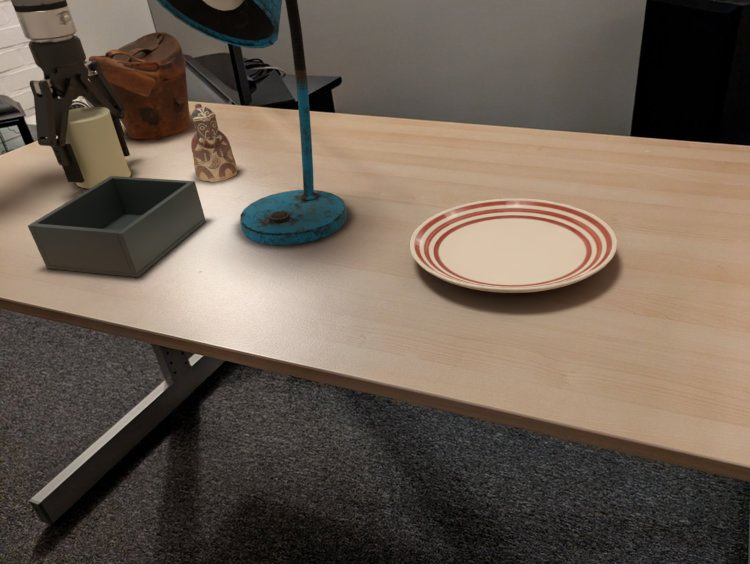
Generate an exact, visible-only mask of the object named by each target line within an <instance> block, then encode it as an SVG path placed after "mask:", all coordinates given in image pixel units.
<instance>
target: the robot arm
mask: <svg viewBox="0 0 750 564" xmlns="http://www.w3.org/2000/svg"><path fill="white" fill-rule="evenodd" d="M10 2H11V4H12V7H13V9H14V12H15V14H16V17H17V20H18V23H19V24H20V28H21V30H22V34H23V35H24V36H23V37H24V38H25V39H27V40H29V43H28V48H29V50H30V54H31V56H32V58H33V61H34V63H35V65H36V66H37V67H38V68H39V69H40V70H41V71H42V73H43V79H39V80H30V81H29V86H30V90H31V93H32V96H33V103H34V104H33V105H34V115H35V126H36V137H37V144H38V145H39V146H42V147H50V148H51V149H52V151H53V155H54V156H55V159H56V161H57V163H58V165H59V166H61V167H62V170H63V173H64V176H65V177H66V180H67V182H68V183H75V184H76V183H82V182H84V181H85V180H84V178H83V175H82V173H81V170H80V168H79V165H78V162H77V160H76V157H75V155H74V152H73V149H72V147H71V144H65V143H66V134H67V125H68V116H69V107H70V106H71V105H72V103H73V100H75V99H77V98H78V97H79V96H83V97H84V98H85V100H86V101H87V102H88V103H90V104H91V105H92V107H104V108H107V109H109V110H110V114H111V118H112V121H113V124H114V127H115V130H116V133H117V136H118V139H119V142H120V145H121V148H122V151H123V154H124V157H130V156H131V153H130V150H129V148H128V145H127V141H126V138H125V131H124V128H123V124H122V122H121V120H120V119H123V118H124V113H123V112H125V106H124V105H123V103H122V102H121V100H120V99H119V97H118V96H117V94H116V93H115V91H114V90H113V88H112V87H111V85H110V84H109V82H108V81H107V79H106V78H105V76H104V75H103V73H102V70H101V67H100V65H99V63H98V62H97V61H89V60H88V61H86V60H87V56H86V55H87V54H86V52H85V50H84V47H83V43H82V41H81V38H80V37H79V36H77V35H75V34H76V33H77V31H78V30H77V28H76V25H75V22H74V19H73V16H72V13H71V10H70V7H69V4H68V2H67V0H10ZM114 104H115V105H114Z"/></svg>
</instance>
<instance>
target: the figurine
mask: <svg viewBox="0 0 750 564" xmlns="http://www.w3.org/2000/svg"><path fill="white" fill-rule="evenodd" d="M191 121H192V123H193V126H194V128H195V131H196V132H195V133H194V134H193V136H192V139H191V144H190V148H191V152H192V159H193V166H194V172H195V175H196V178H197V179H198V180H199V181H203V182H210V183H216V182H222V181H226V180H229V179H231V178H233V177H235V176H236V175H238V166H237V163H236V159H235V156H234V153H233V150H232V147H231V143H230V140H229V139H228V137H227V136H226V134H224V132H222V131H221V130H219V126H218V125H219V124H218V121H217V115H216V113H215V112H213V111H212V109H211V108H209V107H206V106H202V104H201V103H195V105H194V110H193V111H192V113H191Z"/></svg>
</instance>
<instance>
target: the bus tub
mask: <svg viewBox="0 0 750 564" xmlns="http://www.w3.org/2000/svg"><path fill="white" fill-rule="evenodd" d="M206 220H207V219H206V217H205V213H204V210H203V206H202V202H201V198H200V196H199V191H198V187H197V184H196V181H195V180H183V179H167V178H166V179H165V178H153V177H152V178H150V177H137V176H136V177H134V176H130V177H120V176H110V177H108V178H107V179H105V180H103V181H102V182H100V183H98V184H97V185H95V186H93V187H92V188H90V189H88V188H87V190H85V191H83V192H81V193H80V194H78V195H77V196H75V197H73V198H72V199H70V200H68V201H67V202H65V203H63V204H61V205H60V206H58V207H56V208H55V209H53V210H52V211H49V212H48V213H46V214H44V215H43V216H41V217H40V218H38V219H36V220H34V221H33V222H31V223H30V224H28V225H27V228H28V230H29V232H30V235H31V236H32V239H33V241H34V243H35V245H36V247H37V250H38V252H39V254H40V257H41V258H42V261H43V263H44V265H45V268H46V269H49V270H58V271H68V272H69V271H70V272H77V273H78V272H79V273H89V274H101V275H109V276H120V277H127V278H129V277H131V278H140V277H141V276H142V275H143V274H144V273H146V272H147V271H149V269H150V268H151V267H152V266H154V265H155V264H156V263H158V262H159V261H160V260H161V259H162V258H164V257H165V256H166V255H167V254H168V253H170V252H171V251H172V250H173V249H174V248H175V247H177V246H178V245H179V244H181V243H182V242H183V241H184V240H185V239H186V238H188V237H189V236H190V235H191V234H192V233H194V232H195V231H196V230H197V229H198V228H200V227H201V226H203V224H204V223H206Z"/></svg>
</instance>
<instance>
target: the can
mask: <svg viewBox="0 0 750 564" xmlns="http://www.w3.org/2000/svg"><path fill="white" fill-rule="evenodd" d="M65 144H71V147H72V149H73V152H74V155H75V157H76V160H77V162H78V165H79V168H80V170H81V173H82V175H83V178H84V180H85V181H84V182H82V183H76V182H75V185H76V186H77V187H79V188H82V189H87V190H88V189H90V188H92V187H93V186H95V185H97V184H98V183H100V182H102V181H103V180H105V179H107V178H108V177H110V176H120V177H132V176H131V175H132V171H131V170H130V168H129V165H128V162H127V159H126V158H125V157H126V156H124V154H123V151H122V148H121V145H120V142H119V139H118V136H117V133H116V130H115V127H114V124H113V121H112V118H111V114H110V110H109V109H107V108H104V107H94V106H90V107H83V108H77V109H72V110H69V116H68V125H67V134H66V143H65Z"/></svg>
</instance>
